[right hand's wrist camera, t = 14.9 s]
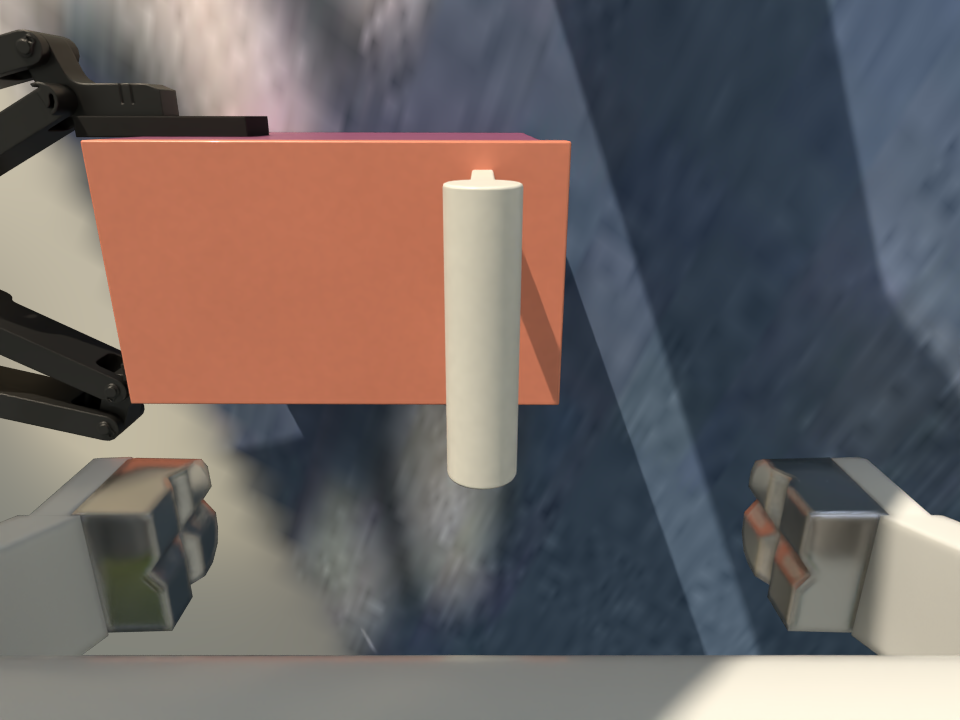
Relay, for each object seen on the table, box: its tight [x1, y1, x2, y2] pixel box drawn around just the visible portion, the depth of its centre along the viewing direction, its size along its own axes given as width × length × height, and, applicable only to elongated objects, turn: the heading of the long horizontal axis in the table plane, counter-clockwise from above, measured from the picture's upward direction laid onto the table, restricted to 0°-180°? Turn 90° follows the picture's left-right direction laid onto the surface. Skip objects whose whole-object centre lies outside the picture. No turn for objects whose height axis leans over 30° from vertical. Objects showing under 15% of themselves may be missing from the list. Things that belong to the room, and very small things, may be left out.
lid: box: [81, 139, 571, 489], centre depth 20 cm, size 16×9×8 cm, turn 90°
